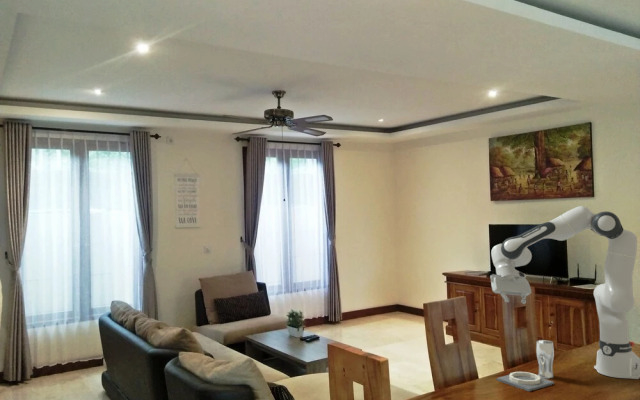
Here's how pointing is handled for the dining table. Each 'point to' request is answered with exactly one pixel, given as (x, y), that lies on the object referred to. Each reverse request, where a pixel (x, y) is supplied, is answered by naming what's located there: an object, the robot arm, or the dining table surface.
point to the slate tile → (526, 387)
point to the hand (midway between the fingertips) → (515, 302)
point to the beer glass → (545, 358)
